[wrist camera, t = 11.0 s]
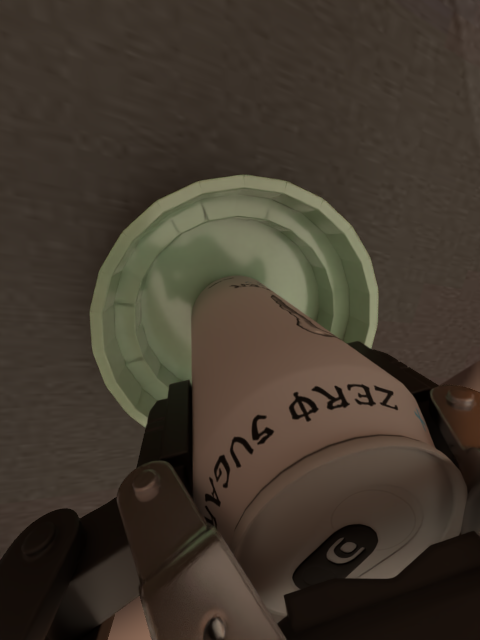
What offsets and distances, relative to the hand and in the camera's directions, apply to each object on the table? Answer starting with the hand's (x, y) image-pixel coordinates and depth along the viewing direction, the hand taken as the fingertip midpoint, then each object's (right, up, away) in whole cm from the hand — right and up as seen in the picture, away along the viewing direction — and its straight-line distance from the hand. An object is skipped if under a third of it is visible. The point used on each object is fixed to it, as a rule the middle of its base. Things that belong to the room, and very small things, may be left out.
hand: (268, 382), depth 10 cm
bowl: (-2, +3, +9) cm, 10 cm away
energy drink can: (-2, +3, +9) cm, 9 cm away
